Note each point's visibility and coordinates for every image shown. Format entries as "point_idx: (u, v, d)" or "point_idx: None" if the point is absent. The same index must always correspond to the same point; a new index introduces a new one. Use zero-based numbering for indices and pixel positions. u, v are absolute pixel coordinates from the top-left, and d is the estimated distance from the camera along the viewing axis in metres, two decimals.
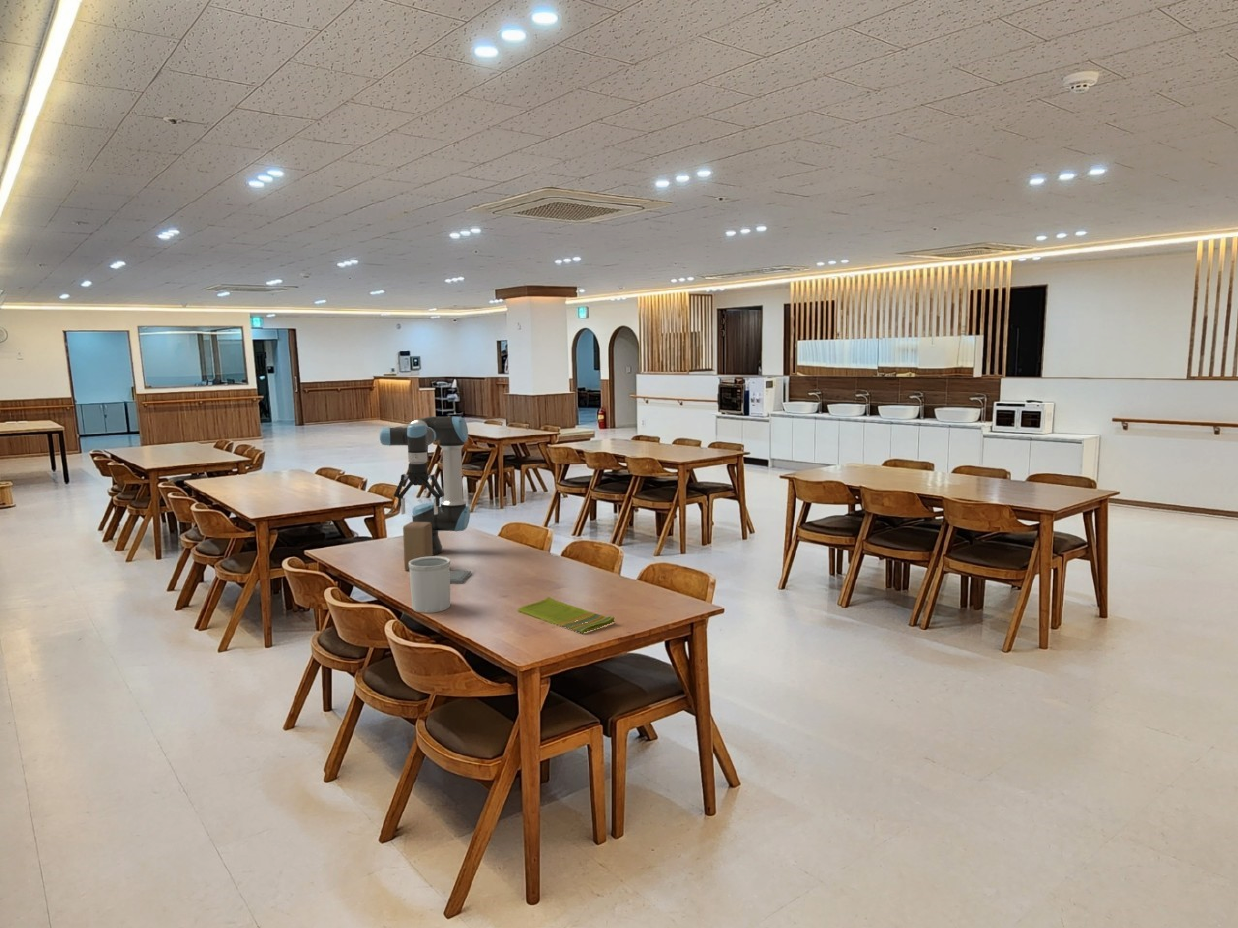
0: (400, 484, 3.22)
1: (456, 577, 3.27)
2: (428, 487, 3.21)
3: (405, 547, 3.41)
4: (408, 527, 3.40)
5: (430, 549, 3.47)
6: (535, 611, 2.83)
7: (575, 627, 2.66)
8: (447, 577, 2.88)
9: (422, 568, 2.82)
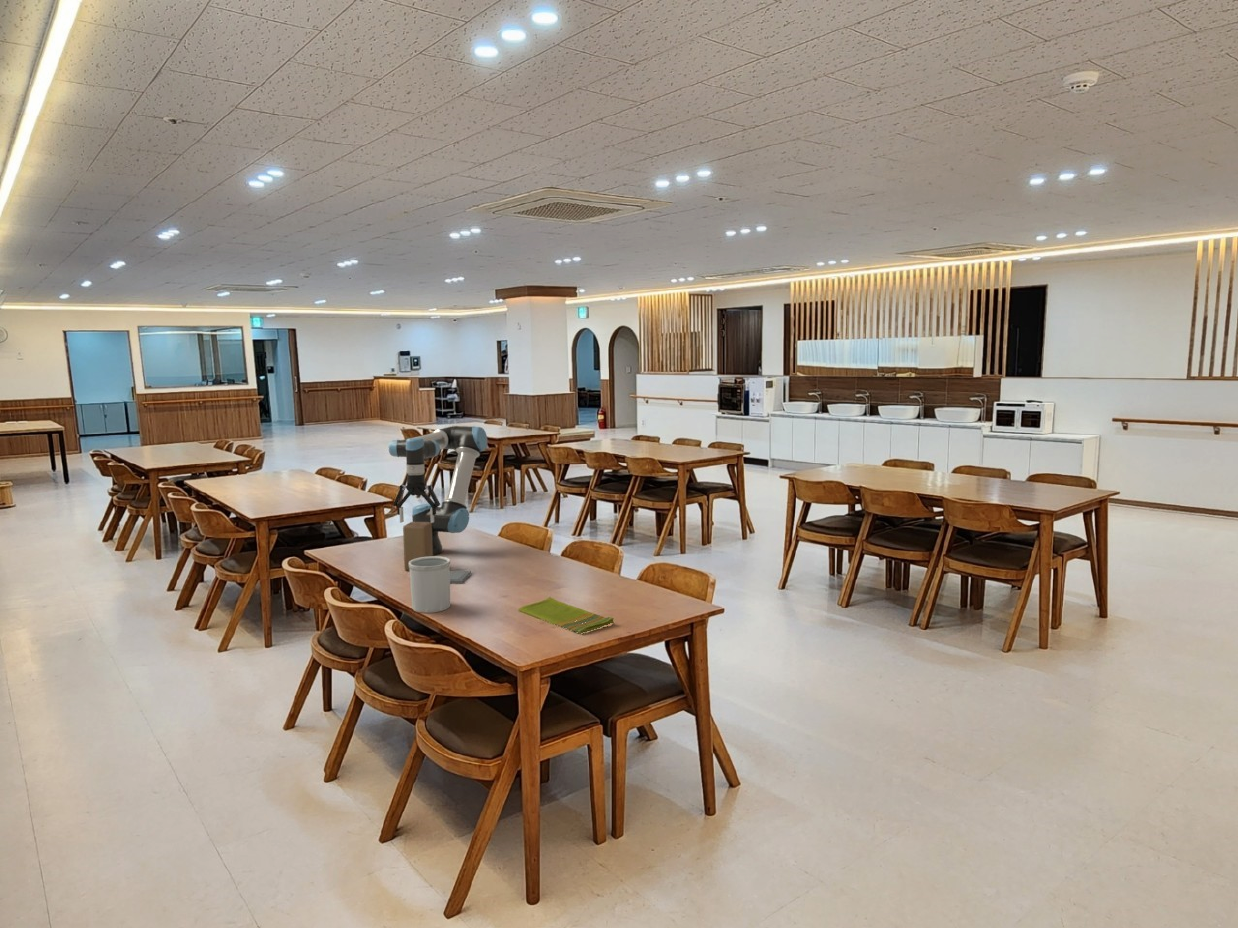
0: (399, 494, 3.42)
1: (456, 577, 3.27)
2: (425, 497, 3.41)
3: (405, 547, 3.41)
4: (408, 527, 3.40)
5: (430, 549, 3.47)
6: (535, 611, 2.83)
7: (573, 627, 2.66)
8: (447, 577, 2.88)
9: (422, 568, 2.82)
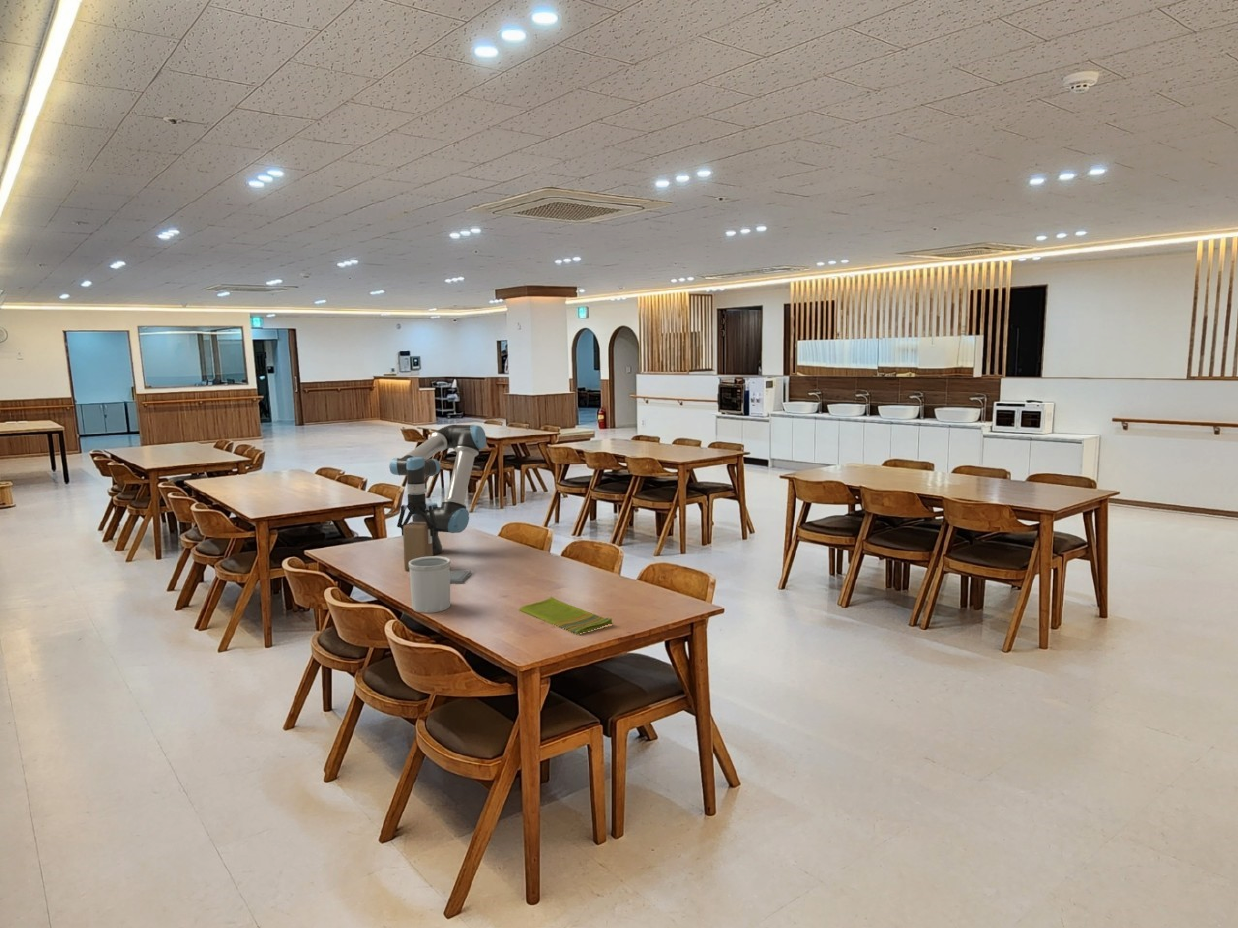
0: (401, 515, 3.43)
1: (456, 577, 3.27)
2: (424, 517, 3.42)
3: (405, 547, 3.41)
4: (408, 527, 3.40)
5: (430, 549, 3.47)
6: (536, 611, 2.83)
7: (571, 628, 2.65)
8: (447, 577, 2.88)
9: (422, 568, 2.82)
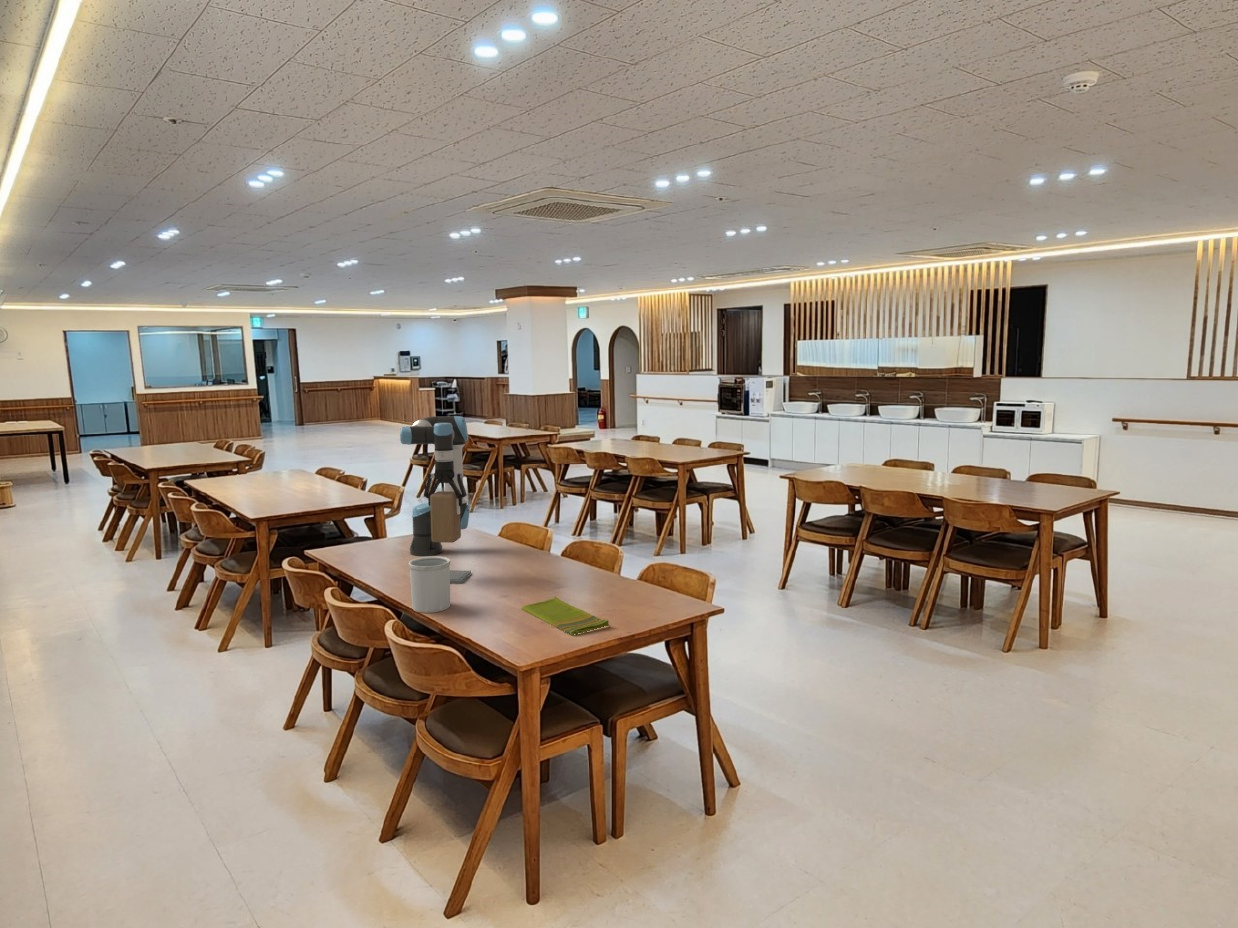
0: (428, 483, 3.25)
1: (456, 577, 3.27)
2: (453, 486, 3.25)
3: (432, 517, 3.23)
4: (435, 496, 3.22)
5: (458, 520, 3.29)
6: (536, 610, 2.84)
7: (567, 628, 2.65)
8: (447, 577, 2.88)
9: (422, 568, 2.82)
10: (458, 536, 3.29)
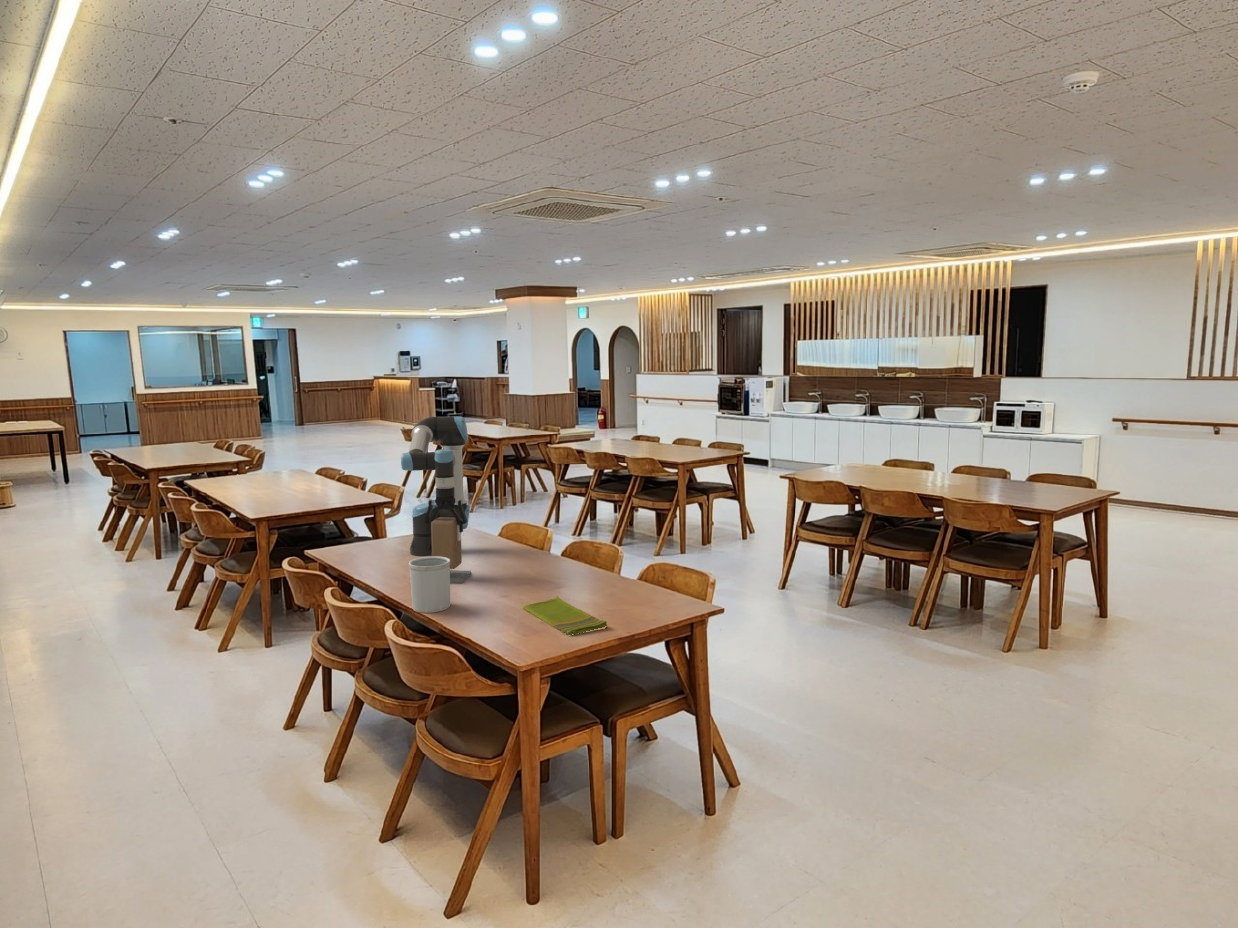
0: (429, 510, 3.26)
1: (456, 577, 3.27)
2: (453, 512, 3.26)
3: (433, 544, 3.24)
4: (436, 523, 3.23)
5: (459, 546, 3.30)
6: (537, 610, 2.84)
7: (564, 628, 2.65)
8: (447, 577, 2.88)
9: (422, 568, 2.82)
10: (459, 562, 3.30)
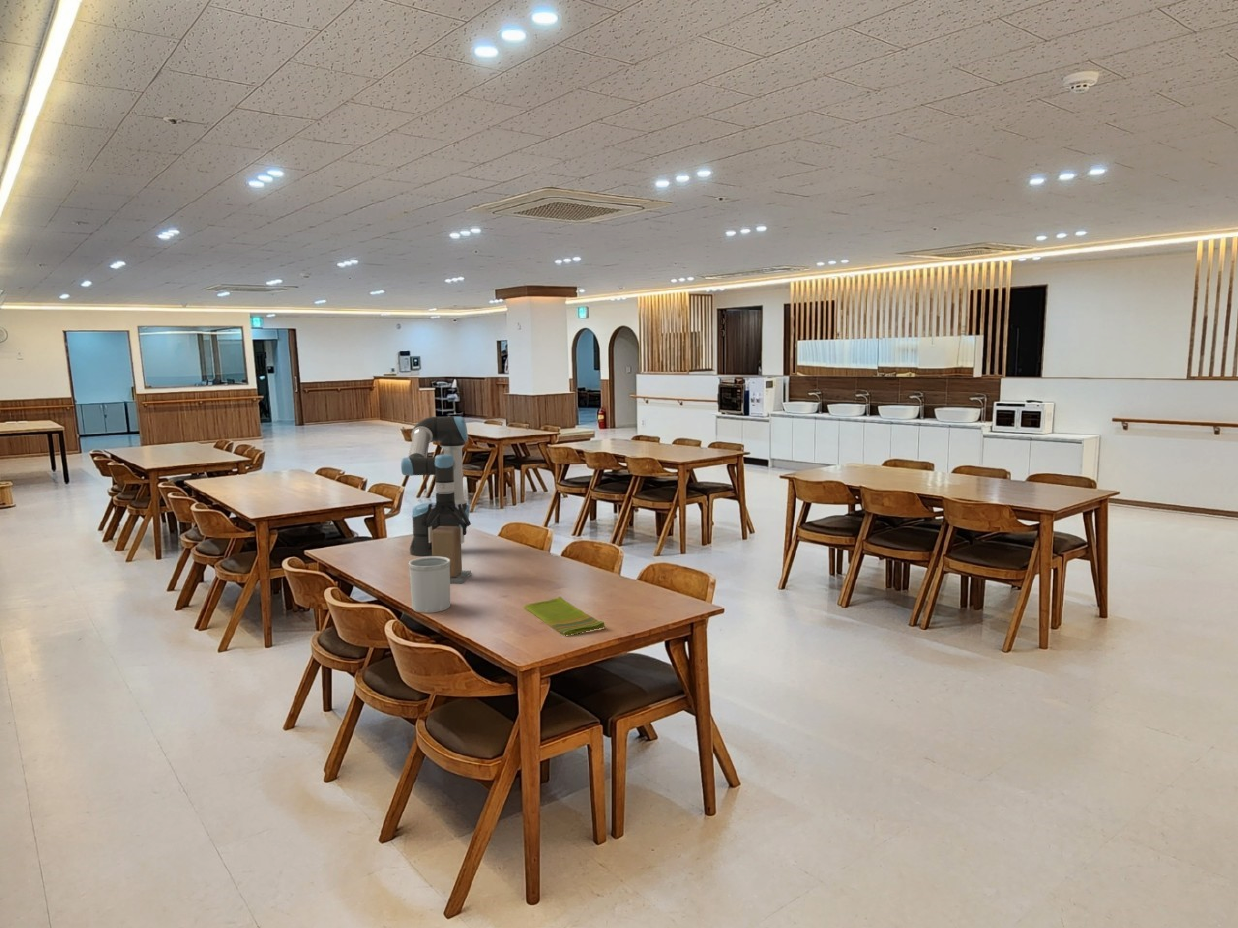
0: (427, 513, 3.27)
1: (456, 577, 3.27)
2: (455, 516, 3.26)
3: (433, 553, 3.25)
4: (437, 532, 3.24)
5: (459, 555, 3.31)
6: (538, 609, 2.85)
7: (561, 628, 2.64)
8: (447, 577, 2.88)
9: (422, 568, 2.82)
10: (459, 571, 3.31)
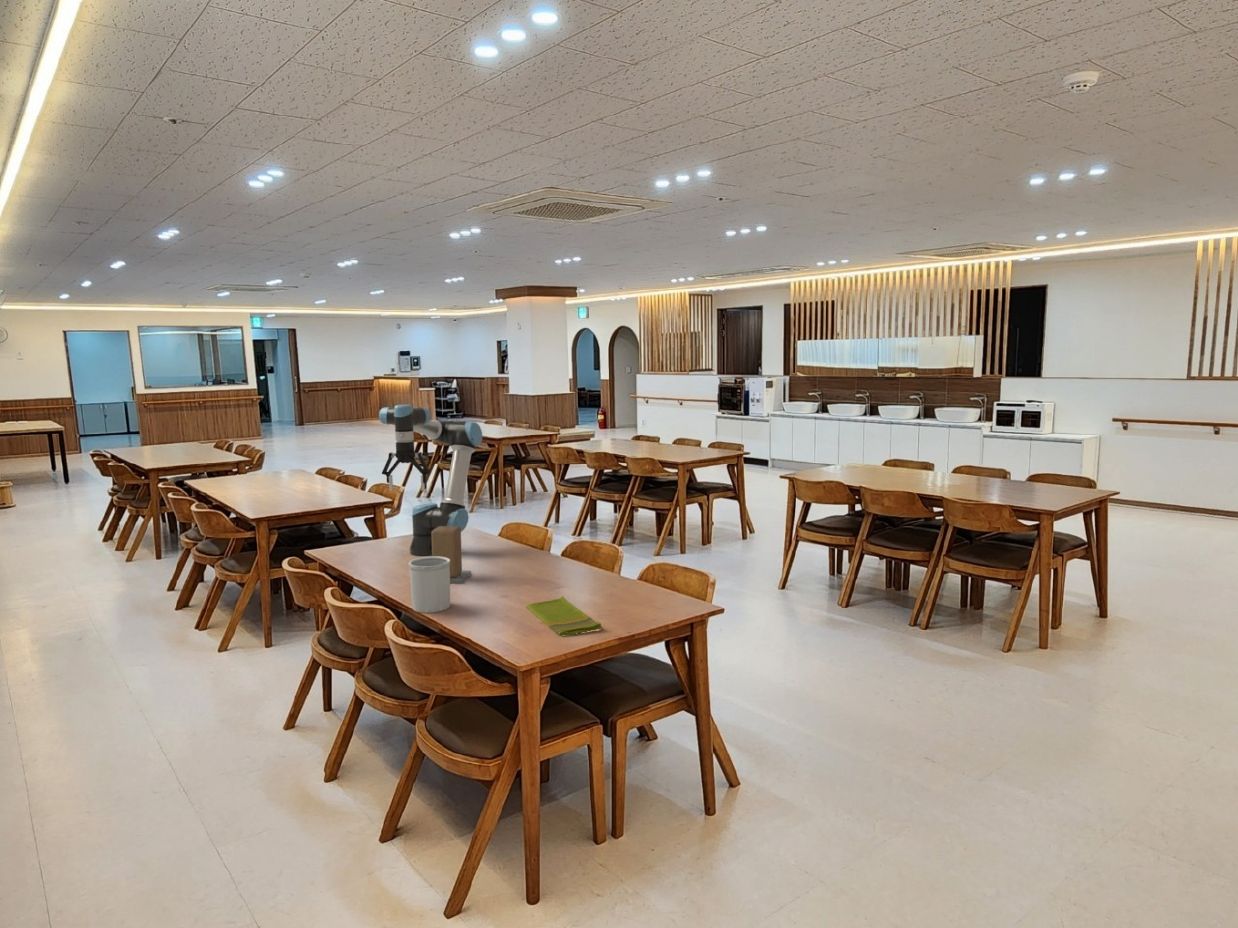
0: (388, 462, 3.35)
1: (456, 577, 3.27)
2: (415, 464, 3.36)
3: (433, 553, 3.25)
4: (437, 532, 3.24)
5: (459, 555, 3.31)
6: (539, 609, 2.85)
7: (558, 629, 2.64)
8: (447, 577, 2.88)
9: (422, 568, 2.82)
10: (459, 571, 3.31)
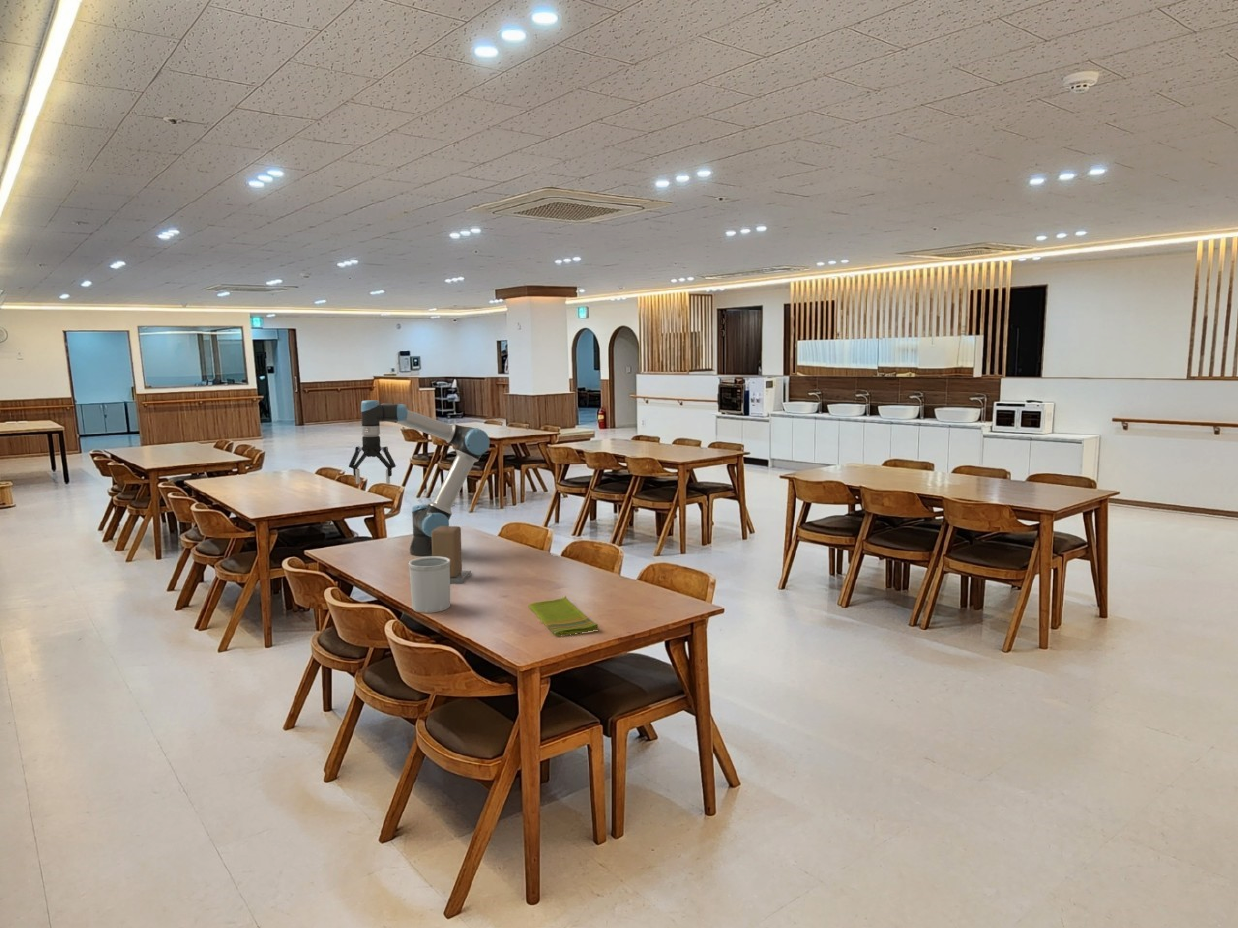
0: (354, 456, 3.46)
1: (456, 577, 3.27)
2: (380, 458, 3.46)
3: (433, 553, 3.25)
4: (437, 532, 3.24)
5: (459, 555, 3.31)
6: (540, 608, 2.86)
7: (554, 629, 2.64)
8: (447, 577, 2.88)
9: (422, 568, 2.82)
10: (459, 571, 3.31)
